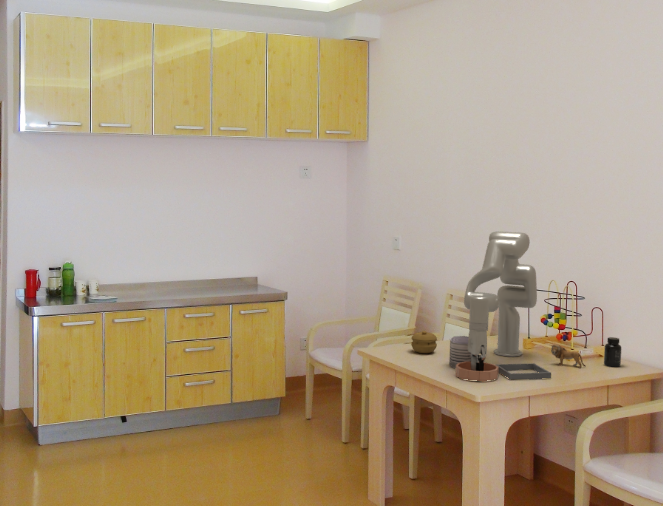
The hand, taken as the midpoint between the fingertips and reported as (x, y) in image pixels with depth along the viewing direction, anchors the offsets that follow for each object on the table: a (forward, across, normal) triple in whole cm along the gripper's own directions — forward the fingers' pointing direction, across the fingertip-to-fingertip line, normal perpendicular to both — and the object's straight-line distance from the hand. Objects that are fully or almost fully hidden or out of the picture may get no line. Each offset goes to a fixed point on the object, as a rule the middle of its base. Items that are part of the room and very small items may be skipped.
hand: (477, 370), depth 303 cm
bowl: (+3, 0, 0) cm, 3 cm away
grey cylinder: (+1, 0, 0) cm, 1 cm away
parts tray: (+3, -1, +20) cm, 20 cm away
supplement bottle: (+3, -11, +66) cm, 67 cm away
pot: (+3, -44, -9) cm, 45 cm away
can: (+3, -17, 0) cm, 17 cm away
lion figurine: (+3, -13, +46) cm, 48 cm away
